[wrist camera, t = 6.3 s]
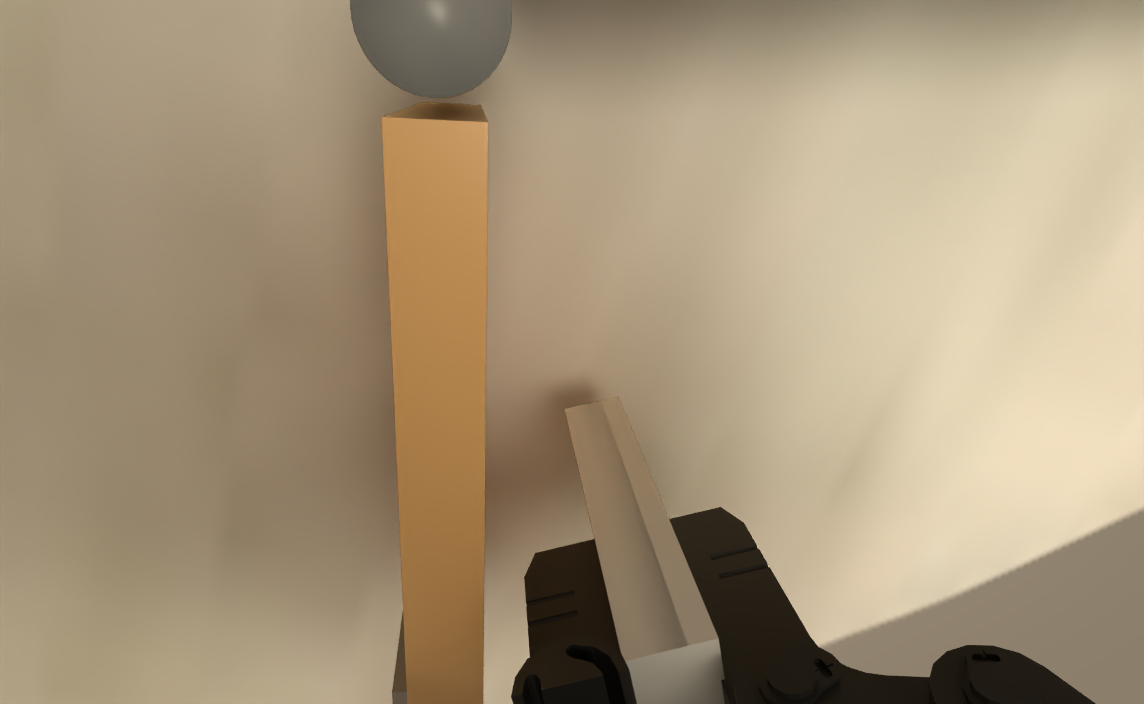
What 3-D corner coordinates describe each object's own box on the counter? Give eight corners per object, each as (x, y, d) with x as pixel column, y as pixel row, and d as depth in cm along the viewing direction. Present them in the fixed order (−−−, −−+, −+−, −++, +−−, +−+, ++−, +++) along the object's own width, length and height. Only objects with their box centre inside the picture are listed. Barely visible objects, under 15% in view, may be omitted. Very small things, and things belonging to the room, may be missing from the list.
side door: (394, -1, 12) (314, -89, 6) (492, 6, 12) (513, -71, 6) (415, 586, 16) (381, 882, 10) (487, 582, 16) (495, 869, 10)
